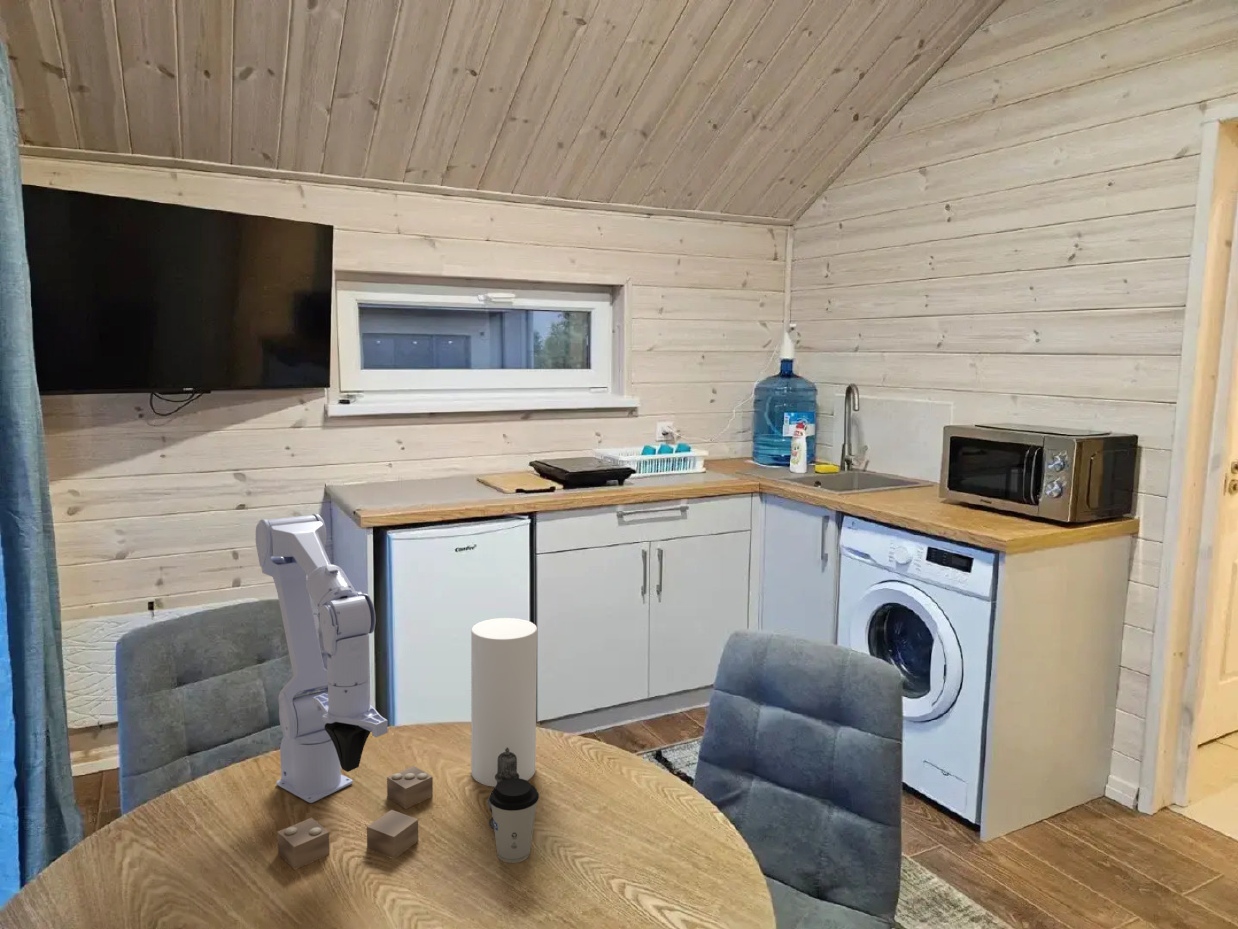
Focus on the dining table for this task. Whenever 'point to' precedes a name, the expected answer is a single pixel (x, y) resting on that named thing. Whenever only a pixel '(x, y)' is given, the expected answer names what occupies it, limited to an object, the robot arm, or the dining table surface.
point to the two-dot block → (303, 843)
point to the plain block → (392, 834)
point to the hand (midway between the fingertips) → (350, 768)
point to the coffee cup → (513, 818)
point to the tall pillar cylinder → (503, 696)
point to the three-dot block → (409, 787)
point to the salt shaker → (504, 772)
